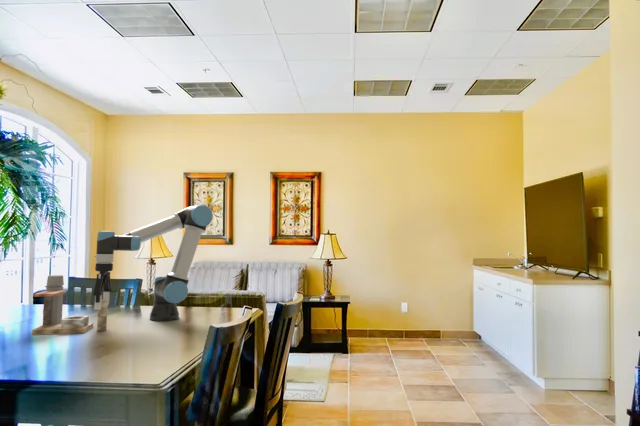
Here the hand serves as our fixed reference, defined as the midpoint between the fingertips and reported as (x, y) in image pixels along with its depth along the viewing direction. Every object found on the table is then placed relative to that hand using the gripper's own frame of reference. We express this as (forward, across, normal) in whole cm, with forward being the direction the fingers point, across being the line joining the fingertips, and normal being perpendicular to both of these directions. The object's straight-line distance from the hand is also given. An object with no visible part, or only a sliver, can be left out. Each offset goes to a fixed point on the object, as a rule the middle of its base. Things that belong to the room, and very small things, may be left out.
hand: (101, 307), depth 206 cm
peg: (+11, 0, 0) cm, 11 cm away
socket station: (+11, -2, -16) cm, 20 cm away
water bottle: (+11, -13, -26) cm, 31 cm away
